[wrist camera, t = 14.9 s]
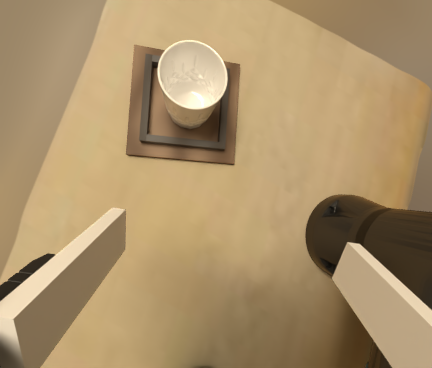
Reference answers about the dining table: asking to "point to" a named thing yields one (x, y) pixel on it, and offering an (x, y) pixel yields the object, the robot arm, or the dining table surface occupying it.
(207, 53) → the white cup
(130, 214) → the dining table surface
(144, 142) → the dock board
